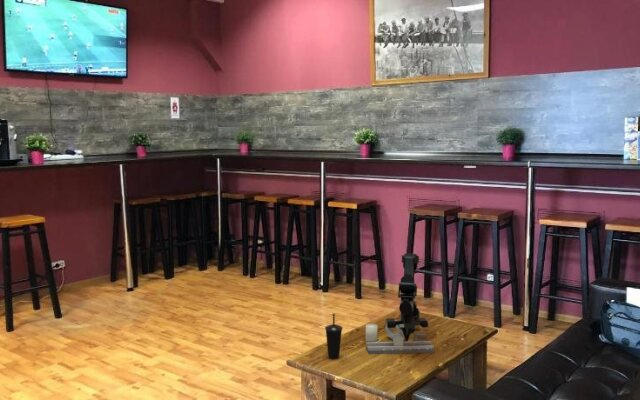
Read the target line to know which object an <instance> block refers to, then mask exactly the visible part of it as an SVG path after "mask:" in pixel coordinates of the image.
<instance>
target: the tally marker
mask: <svg viewBox="0 0 640 400" xmlns="http://www.w3.org/2000/svg"><path fill="white" fill-rule="evenodd" d="M392 342H393V346H403V342H404V335H403V336H402V335H393V339H392Z"/></svg>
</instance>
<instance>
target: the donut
mask: <svg viewBox="0 0 640 400" xmlns="http://www.w3.org/2000/svg"><path fill="white" fill-rule="evenodd" d="M395 321H398V320H397V319H395ZM384 329H385V333H386V335H387V337H388V338H390V339H391V340H393V335H402V336H403V337H404V335H403V332H402V329H399V327H398V325H396V327H395V328H394V329H396V332H395V331H394V330H393V328H387V326H386V325H385V328H384Z"/></svg>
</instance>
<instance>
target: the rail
mask: <svg viewBox="0 0 640 400" xmlns="http://www.w3.org/2000/svg"><path fill="white" fill-rule="evenodd" d="M365 348H366V351H367V353H368V355H378V354H382V355H383V354H419V353H420V354H422V353H423V354H424V353H425V354H427V353H435V348H434V344H433V345H432V342H431V340H427V341H416V342H415V341H403V346H393V341H383V342H381V341H379V342H377V341H375V342H366V344H365Z"/></svg>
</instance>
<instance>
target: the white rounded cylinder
mask: <svg viewBox="0 0 640 400" xmlns="http://www.w3.org/2000/svg"><path fill="white" fill-rule="evenodd" d="M365 341H366V342H368V343H370V342H377V341H378V324H375V323H367V324H366V325H365Z"/></svg>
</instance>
